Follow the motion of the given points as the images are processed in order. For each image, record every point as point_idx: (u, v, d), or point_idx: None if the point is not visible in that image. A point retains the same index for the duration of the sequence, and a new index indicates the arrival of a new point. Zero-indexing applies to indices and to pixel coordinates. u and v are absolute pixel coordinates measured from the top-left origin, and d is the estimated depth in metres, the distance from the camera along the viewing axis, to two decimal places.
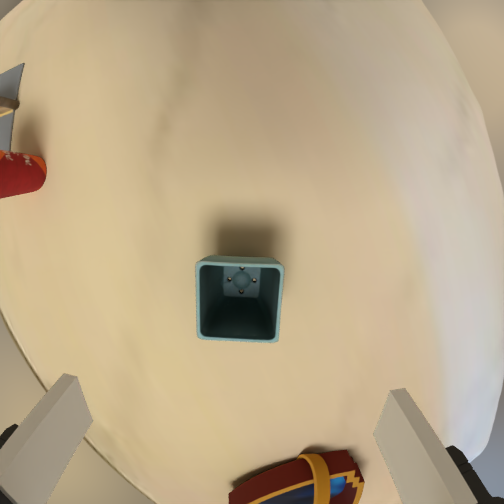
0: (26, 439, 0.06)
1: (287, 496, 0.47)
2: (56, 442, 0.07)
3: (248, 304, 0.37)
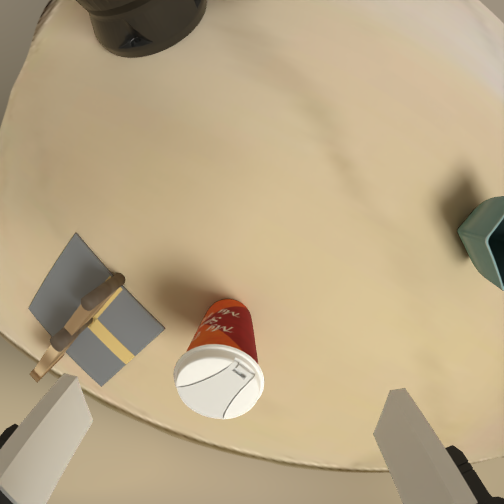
0: (26, 439, 0.06)
1: None
2: (56, 442, 0.07)
3: (488, 244, 0.32)
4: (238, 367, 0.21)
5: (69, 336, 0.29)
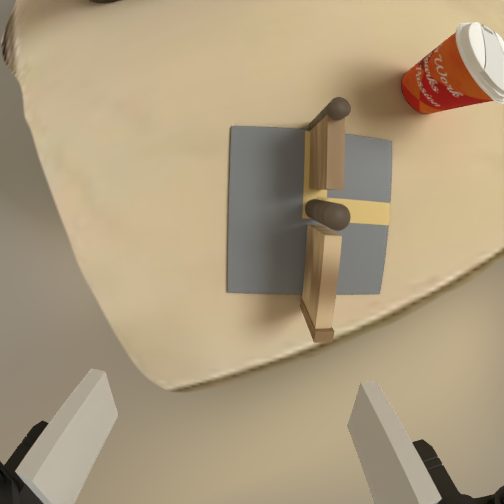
0: (59, 435, 0.06)
1: None
2: (86, 437, 0.08)
3: None
4: None
5: None
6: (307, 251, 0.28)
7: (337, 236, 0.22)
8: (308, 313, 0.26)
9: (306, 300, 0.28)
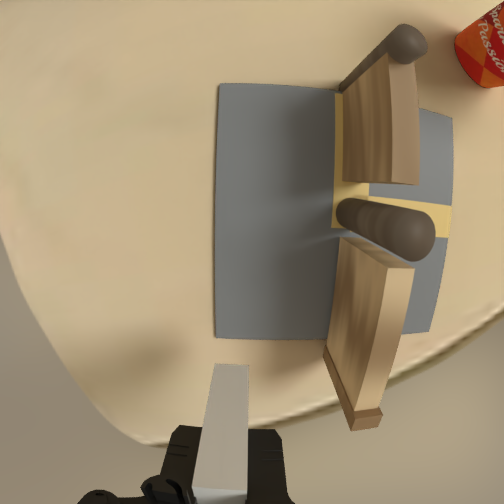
0: (223, 433, 0.08)
1: None
2: None
3: None
4: None
5: None
6: (339, 280, 0.18)
7: (407, 269, 0.11)
8: (339, 377, 0.16)
9: (335, 354, 0.17)
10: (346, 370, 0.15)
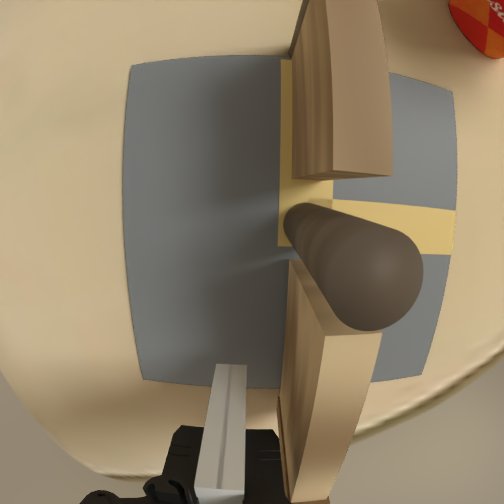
0: (224, 433, 0.08)
1: None
2: None
3: None
4: None
5: None
6: (288, 320, 0.13)
7: (367, 334, 0.06)
8: (284, 449, 0.11)
9: (283, 416, 0.12)
10: (288, 446, 0.10)
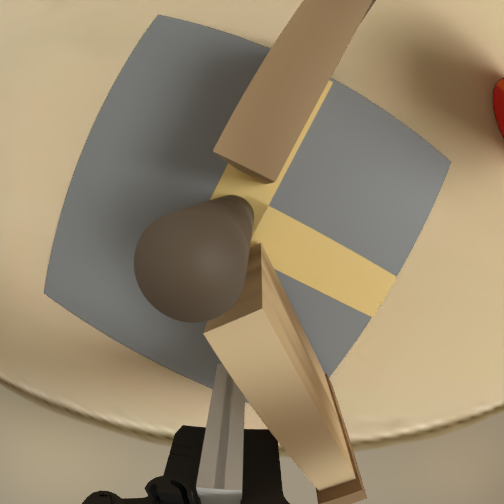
0: (226, 434, 0.08)
1: None
2: None
3: None
4: None
5: (240, 221, 0.07)
6: None
7: (248, 316, 0.06)
8: None
9: None
10: None
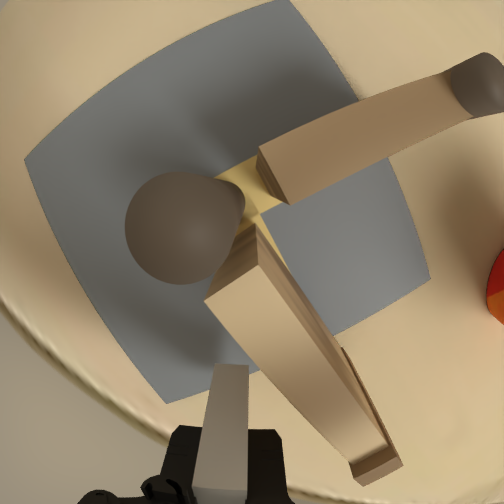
0: (223, 433, 0.08)
1: None
2: None
3: None
4: None
5: (238, 216, 0.07)
6: None
7: (245, 275, 0.06)
8: None
9: None
10: None
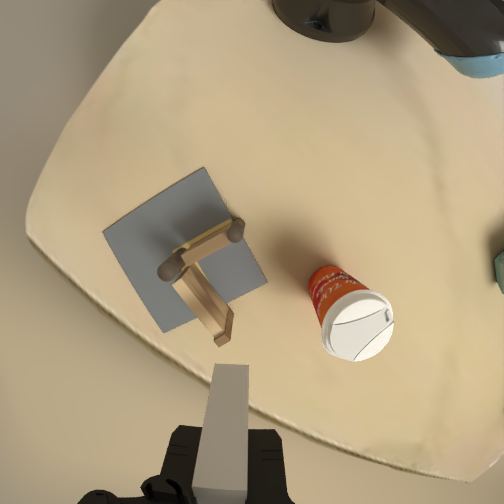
0: (223, 433, 0.08)
1: None
2: None
3: None
4: (388, 311, 0.25)
5: (179, 267, 0.32)
6: None
7: (179, 280, 0.31)
8: None
9: None
10: None
